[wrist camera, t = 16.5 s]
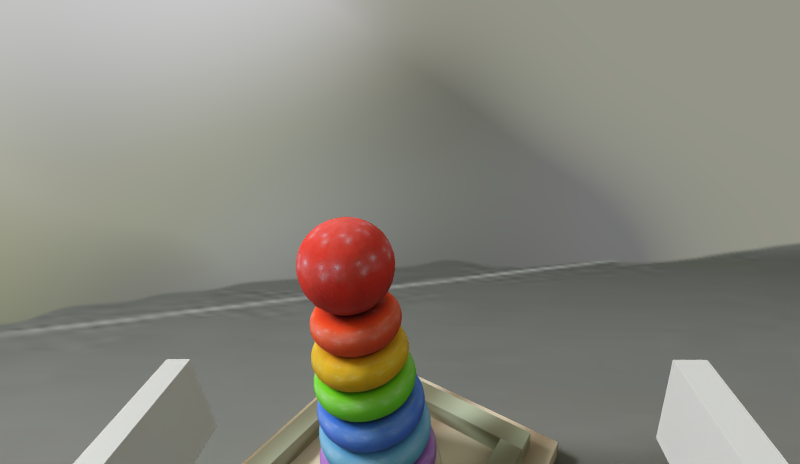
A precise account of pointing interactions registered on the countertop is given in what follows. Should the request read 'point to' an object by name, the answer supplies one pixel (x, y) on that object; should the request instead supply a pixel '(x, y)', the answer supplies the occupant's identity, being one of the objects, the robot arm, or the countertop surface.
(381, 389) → the stacking toy
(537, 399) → the countertop surface
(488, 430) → the rimmed tray
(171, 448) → the robot arm
